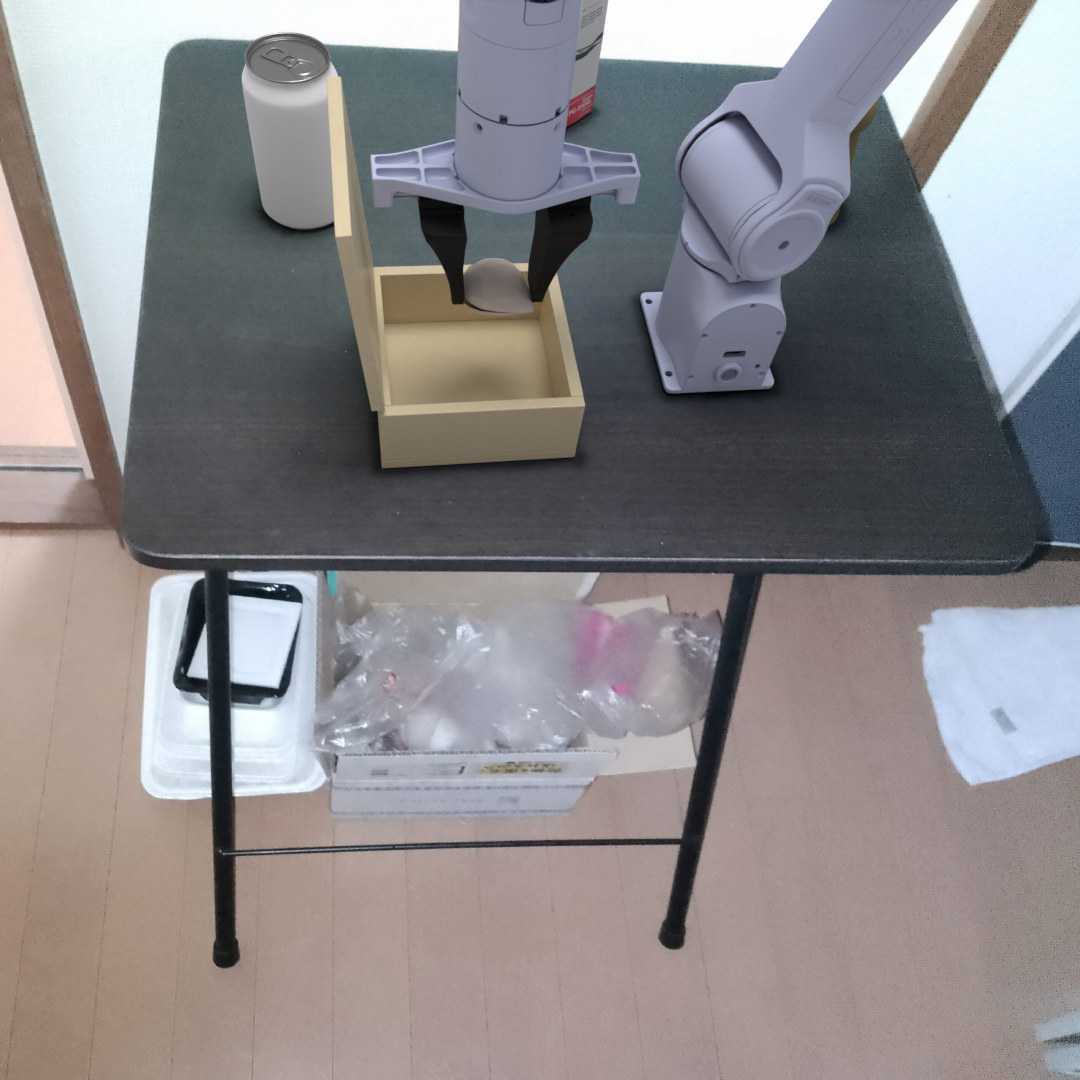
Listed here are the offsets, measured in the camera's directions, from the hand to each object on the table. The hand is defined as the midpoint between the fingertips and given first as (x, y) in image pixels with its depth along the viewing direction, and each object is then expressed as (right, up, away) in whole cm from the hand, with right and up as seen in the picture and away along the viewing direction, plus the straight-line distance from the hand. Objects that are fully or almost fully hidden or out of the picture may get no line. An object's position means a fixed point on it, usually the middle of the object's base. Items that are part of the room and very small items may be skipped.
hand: (496, 291), depth 61 cm
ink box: (+3, +23, +25) cm, 34 cm away
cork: (+24, +12, +21) cm, 34 cm away
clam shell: (0, -1, +1) cm, 2 cm away
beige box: (-2, -5, +6) cm, 8 cm away
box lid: (-7, +1, -5) cm, 9 cm away
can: (-15, +10, +15) cm, 24 cm away
